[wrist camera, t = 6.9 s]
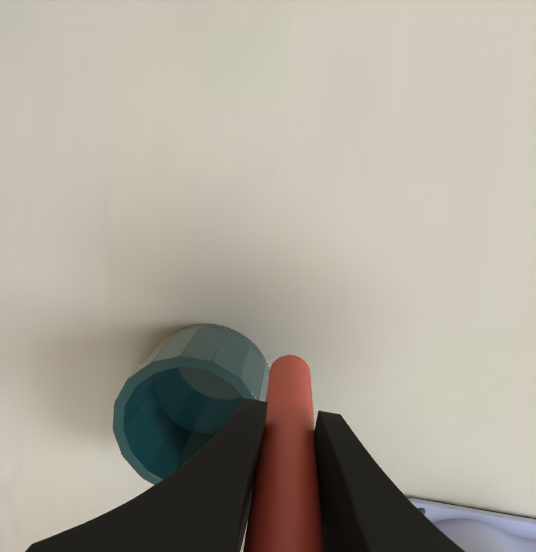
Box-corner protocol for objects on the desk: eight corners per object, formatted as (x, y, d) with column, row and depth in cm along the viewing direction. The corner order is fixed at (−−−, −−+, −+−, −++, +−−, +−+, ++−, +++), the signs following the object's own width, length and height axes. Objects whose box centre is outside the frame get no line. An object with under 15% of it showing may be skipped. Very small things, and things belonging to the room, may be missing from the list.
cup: (279, 334, 21) (275, 371, 17) (262, 446, 22) (254, 507, 18) (154, 314, 21) (117, 345, 17) (145, 426, 23) (109, 482, 18)
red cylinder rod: (313, 358, 14) (344, 663, 5) (306, 394, 15) (324, 746, 5) (273, 351, 14) (231, 642, 5) (267, 388, 15) (217, 724, 5)
